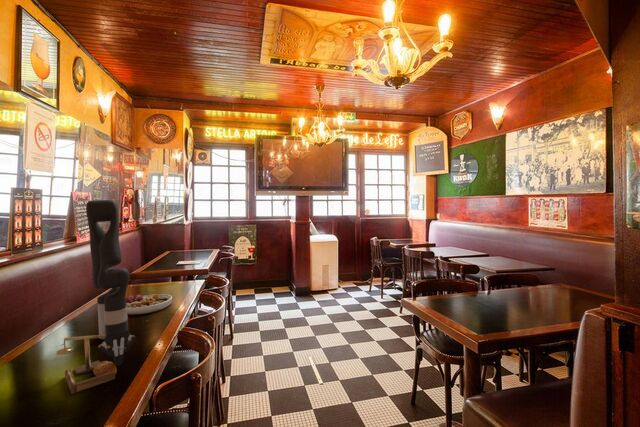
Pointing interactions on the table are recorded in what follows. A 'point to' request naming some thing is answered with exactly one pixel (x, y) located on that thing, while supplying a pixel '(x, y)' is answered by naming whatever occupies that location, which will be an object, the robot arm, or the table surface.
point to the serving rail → (87, 381)
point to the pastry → (104, 368)
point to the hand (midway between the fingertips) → (118, 364)
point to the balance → (88, 365)
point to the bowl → (147, 303)
